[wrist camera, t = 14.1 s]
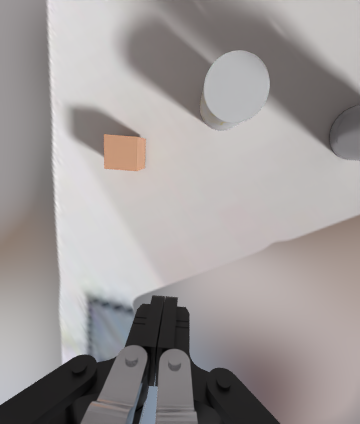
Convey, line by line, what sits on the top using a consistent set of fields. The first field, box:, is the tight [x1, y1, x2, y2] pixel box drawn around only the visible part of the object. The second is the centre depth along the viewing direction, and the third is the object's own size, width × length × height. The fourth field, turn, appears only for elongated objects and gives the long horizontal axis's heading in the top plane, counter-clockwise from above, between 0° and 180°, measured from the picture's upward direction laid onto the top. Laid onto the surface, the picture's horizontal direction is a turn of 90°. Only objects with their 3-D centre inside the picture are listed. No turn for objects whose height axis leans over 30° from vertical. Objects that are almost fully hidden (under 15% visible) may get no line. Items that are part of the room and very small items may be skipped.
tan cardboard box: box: [104, 134, 146, 171], centre depth 38 cm, size 5×5×7 cm
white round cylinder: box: [200, 50, 270, 131], centre depth 33 cm, size 8×8×12 cm
